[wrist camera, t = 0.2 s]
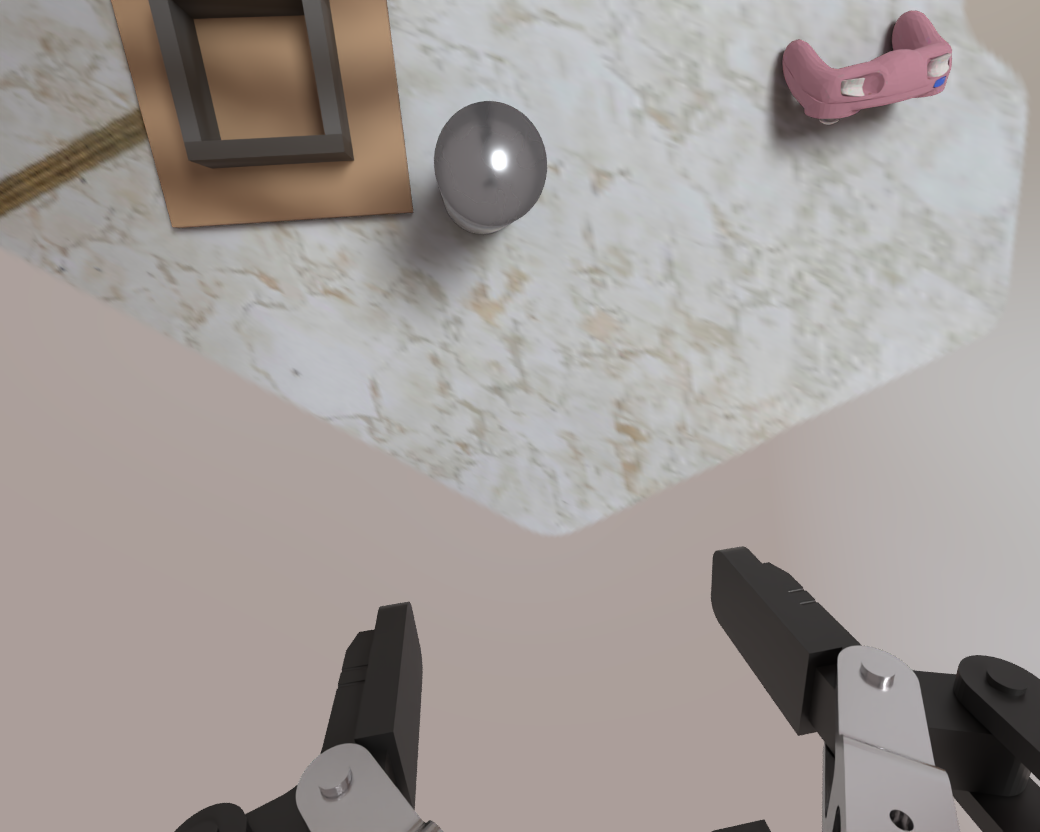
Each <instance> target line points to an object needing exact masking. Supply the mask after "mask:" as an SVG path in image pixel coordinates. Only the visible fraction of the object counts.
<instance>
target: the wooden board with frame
mask: <svg viewBox="0 0 1040 832" xmlns="http://www.w3.org/2000/svg"><path fill="white" fill-rule="evenodd" d="M111 2H112V6H113V9H114V13H115V17H116V20H117V24H118V28H119V32H120V35H121V39H122V43H123V46H124V50H125V54H126V57H127V61H128V65H129V69H130V72H131V76H132V80H133V83H134V87H135V91H136V94H137V98H138V102H139V106H140V109H141V113H142V117H143V120H144V124H145V128H146V131H147V135H148V139H149V143H150V146H151V150H152V154H153V157H154V161H155V165H156V168H157V172H158V176H159V180H160V183H161V187H162V191H163V194H164V198H165V202H166V205H167V209H168V213H169V217H170V220H171V224H172V227H176V228H186V227H201V226H216V225H232V224H247V223H262V222H277V221H292V220H308V219H323V218H338V217H353V216H368V215H383V214H399V213H414V212H413V204H412V196H411V188H410V181H409V173H408V165H407V157H406V149H405V141H404V133H403V125H402V118H401V110H400V102H399V94H398V86H397V78H396V70H395V62H394V54H393V47H392V39H391V31H390V23H389V15H388V7H387V0H111Z"/></svg>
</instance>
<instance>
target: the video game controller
mask: <svg viewBox="0 0 1040 832" xmlns="http://www.w3.org/2000/svg"><path fill="white" fill-rule="evenodd" d="M892 46H893V51H890V52H888V53H886V54H884V55H881V56H879V57H877V58H875V59H873V60H871V61H870V62H865V63H860V64H856V65H852V66H848V67H844V68H840V69H834V68H831V67H829V66H828V65H827V64H826V63H825V62H824V61H823V60H822V59H821V58H820V57H819V56H818V55H817V53H816V52H815V51H814V50H813V48H812V47H811V46H810V45H809V44H808V43H807V42H804V41H802V40H800V39H798V40H795V41H792V42H791V43H790V44H789V45H788V46H787V48H786V50H785V52H784V54H783V61H782V64H783V73H784V77H785V80H786V83H787V85H788V87H789V89H790V91H791V93H792V94H793V96H794V97H795V98H796V99H797V101H798V102H799V103H800V104H801V105H802V106H803V107H804V112H805V114H806V115H807V116H810V117H813V118H819V119H820V122H821V123H823V124H826V125H830V124H833V123H836V122H838V121H839V120H840V118H843V117H848V116H851V115H854V114H856V113H857V112H859V111H860V110H861V109H865V108H871V107H877V106H883V105H887V104H892V103H896V102H900V101H904V100H907V99H911V98H919V97H927V96H933V95H936V94H938V93H940V92H942V91H943V90H944V88H945V85H946V81H947V78H948V75H949V73H950V70H951V65H952V49H951V46H950V45H949V44H948V43H947V42H946V41H945V40H944V39H943V38H942V37H941V36H940V35H939V34H938V33H937V31H936V29H935V28H934V26H933V25H932V23H931V22H930V20H929V19H928V18H927V17H926V16H925V15H924V14H923V13H921V12H919V11H908V12H906V13H904V14H902V15H901V16H900V18H899V19H898V20H897V22H896V24H895V25H894V29H893V33H892Z"/></svg>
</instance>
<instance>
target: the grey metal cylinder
mask: <svg viewBox="0 0 1040 832" xmlns="http://www.w3.org/2000/svg"><path fill="white" fill-rule="evenodd" d="M434 168H435V175H436V179H437V182H438V186H439V189H440V192H441V195H442V198H443V201H444V204H445V207H446V209H447V212H448V213H449V215H450V217H451V218H452V219H453V221H454V222H455V223H456V224H457V225H459V226H460V227H461V228H463V229H465V230H467V231H469V232H472V233H475V234H490V233H494V232H496V231H498V230H500V229H502V228H504V227H505V226H507V225H509V224H511V223H512V222H514V221H516V220H517V219H519V218H521V217H522V216H524V215H525V214H526V213H527V212H528V211H529V210H530V209H531V208H532V207H533V206H534V204H535V203H536V202H537V200H538V198H539V196H540V195H541V192H542V190H543V187H544V184H545V180H546V174H547V158H546V152H545V147H544V144H543V141H542V139H541V137H540V135H539V132H538V131H537V129H536V128H535V126H534V125H533V123H532V122H531V121H530V120H529V119H528V118H527V117H526V116H525V115H524V114H523V113H521V112H520V111H518V110H517V109H515V108H513V107H511V106H509V105H507V104H504V103H500V102H494V101H484V102H477V103H474V104H471V105H468V106H466V107H464V108H462V109H461V110H459V111H458V112H457V113H455V114H454V115H453V116H452V117H451V118H450V119H449V121H448V122H447V123H446V124H445V126H444V128H443V129H442V131H441V133H440V135H439V138H438V141H437V144H436V148H435V155H434Z"/></svg>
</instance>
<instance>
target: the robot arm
mask: <svg viewBox="0 0 1040 832" xmlns="http://www.w3.org/2000/svg"><path fill="white" fill-rule="evenodd" d="M711 602H712V607H713V611H714V613H715V616H716V618H717V620H718V622H719V624H720V625H721V626H722V628H723V629H724V631H725V632H726V634H727V635H728V636H729V638H730V639H731V641H732V642H733V644H734V645H735V646H736V648H737V649H738V651H739V652H740V653H741V655H742V656H743V658H744V659H745V661H746V662H747V663H748V665H749V666H750V668H751V669H752V671H753V672H754V673H755V675H756V676H757V677H758V679H759V680H760V682H761V683H762V685H763V686H764V688H765V689H766V691H767V692H768V693H769V695H770V696H771V698H772V699H773V701H774V702H775V703H776V705H777V706H778V707H779V709H780V710H781V712H782V713H783V715H784V716H785V718H786V719H787V721H788V722H789V723H790V725H791V726H792V728H793V729H794V730H795V732H796V733H797V735H798V736H799V735H804V734H809V733H814V732H818V734H819V735H820V736H821V737H822V739H823V740H824V746H823V774H822V775H823V778H822V780H823V781H822V782H823V783H822V785H823V786H822V832H960V828H959V823H958V819H957V814H956V809H955V804H954V800H953V797H954V798H955V799H956V801H957V802H958V803H959V804H960V805H961V806H962V808H963V809H964V810H965V811H966V813H967V814H968V815H969V816H970V817H971V818H972V820H973V821H974V822H975V823H976V824H977V826H978V827H979V828H980V829H981V830H982V832H1040V787H1039V786H1038V785H1037V784H1036V783H1035V782H1034V781H1033V780H1032V779H1031V778H1030V777H1029V776H1030V774H1031V772H1032V773H1033V774H1034V775H1035V776H1036V777H1037V778H1038V779H1039V780H1040V679H1038V678H1037V677H1036V676H1034V675H1033V674H1032V673H1030V672H1028V671H1027V670H1025V669H1023V668H1021V667H1019V666H1017V665H1015V664H1013V663H1010V662H1008V661H1005V660H1002V659H999V658H995V657H989V656H981V655H975V656H969V657H966V658H964V659H963V660H962V661H961V662H960V664H959V666H958V670H957V674H944V673H934V672H923V671H914V670H912V669H911V668H910V667H909V666H908V665H906V664H905V663H904V662H903V661H902V660H900V659H899V658H897V657H896V656H894V655H892V654H890V653H888V652H886V651H883V650H880V649H877V648H874V647H869V646H862V645H860V643H859V642H858V641H857V640H856V639H855V638H854V637H853V636H852V635H851V634H850V633H849V632H848V631H847V630H846V629H844V627H843V626H842V625H840V624H839V623H838V622H837V621H836V620H835V619H834V618H833V617H832V616H831V615H830V614H829V613H828V612H827V611H826V610H825V609H824V608H823V607H822V606H821V605H820V604H819V603H816V601H815V599H814V598H813V597H812V596H811V595H810V594H809V593H808V592H807V591H804V589H803V587H802V586H801V585H800V584H799V583H798V582H797V581H796V580H795V579H794V578H793V577H792V576H791V575H790V574H789V573H787V572H785V571H784V570H782V569H780V568H778V567H776V566H774V565H773V564H771V563H769V562H768V563H763V564H762V563H761V562H760V561H759V560H758V559H757V558H756V557H755V556H754V555H753V554H752V553H751V552H750V550H749V549H747V548H746V547H736V548H730V549H724V550H718V551H715V553H714V555H713V565H712V587H711ZM421 692H422V656H421V648H420V644H419V639H418V634H417V629H416V625H415V621H414V615H413V611H412V607H411V604H410V602H404V603H398V604H392V605H387V606H381V607H379V610H378V615H377V620H376V625H375V629H374V630H368V631H363V632H359V633H358V634H357V636H356V637H355V639H354V640H353V642H352V643H351V645H350V646H349V647H348V649H347V650H346V654H345V658H344V662H343V667H342V673H341V674H340V679H339V683H338V689H337V691H336V695H335V699H334V703H333V707H332V711H331V715H330V719H329V723H328V727H327V731H326V735H325V739H324V743H323V747H322V751H321V754H320V755H319V756H318V757H317V758H316V759H314V760H313V761H312V763H311V764H310V765H309V766H308V767H307V768H306V770H305V771H304V773H303V775H302V776H301V778H300V781H299V783H298V785H297V786H295V787H294V788H293V789H291V790H290V791H289V792H287V793H285V794H284V795H282V796H280V797H278V798H276V799H275V800H272V801H270V802H269V803H267V804H265V805H263V806H261V807H259V808H257V809H255V810H253V811H251V812H249V813H247V814H244V812H243V810H242V809H241V808H240V807H239V806H237V805H235V804H232V803H220V804H215V805H212V806H209V807H207V808H205V809H203V810H201V811H199V812H198V813H196V814H194V815H193V816H191V817H190V818H189V819H187V820H186V821H185V822H184V823H183V824H182V825H181V826H179V827H178V829H177V830H176V831H175V832H443V831H442V830H441V828H440V827H438V825H437V824H436V823H434V822H432V821H428V822H427V823H425V822H424V821H422V819H421V818H420V817H419V816H418V815H417V813H416V812H415V794H416V777H417V759H418V743H419V726H420V708H421ZM712 832H771V831H770V829H769V827H768V826H767V824H766V822H765V820H760V821H755V822H750V823H746V824H741V825H737V826H733V827H728V828H724V829H719V830H715V831H712Z"/></svg>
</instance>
